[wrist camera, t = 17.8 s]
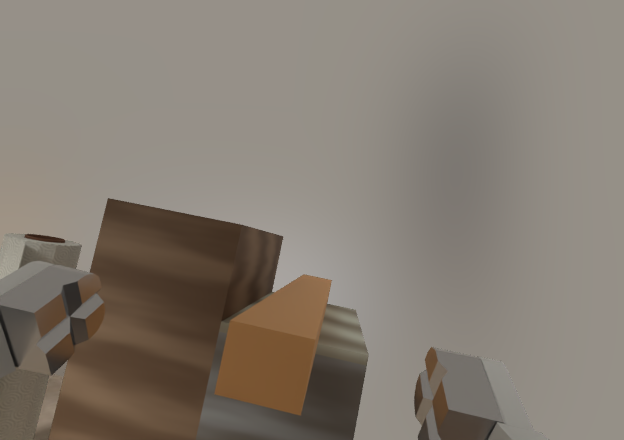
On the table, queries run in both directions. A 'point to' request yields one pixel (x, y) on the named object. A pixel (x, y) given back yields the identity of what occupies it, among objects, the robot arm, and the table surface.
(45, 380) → the paper towel roll
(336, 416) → the stepped stand
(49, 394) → the table surface
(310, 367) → the batten
